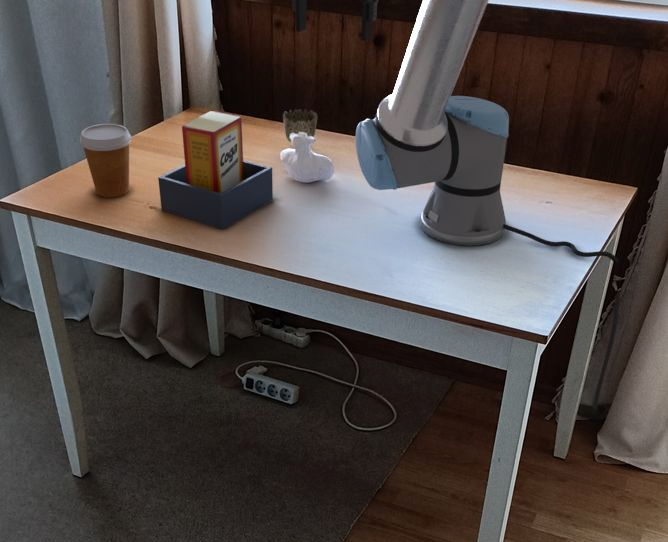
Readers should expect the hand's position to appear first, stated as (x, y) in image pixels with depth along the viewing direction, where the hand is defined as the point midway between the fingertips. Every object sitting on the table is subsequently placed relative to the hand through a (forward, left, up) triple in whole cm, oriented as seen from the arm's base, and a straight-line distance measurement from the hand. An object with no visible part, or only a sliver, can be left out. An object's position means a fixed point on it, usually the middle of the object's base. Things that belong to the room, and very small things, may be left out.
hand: (333, 34), depth 158 cm
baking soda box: (+11, +23, -28) cm, 38 cm away
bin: (+11, +23, -28) cm, 38 cm away
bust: (+4, +4, -28) cm, 29 cm away
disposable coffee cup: (+32, +30, -28) cm, 52 cm away
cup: (+14, -9, -28) cm, 33 cm away
